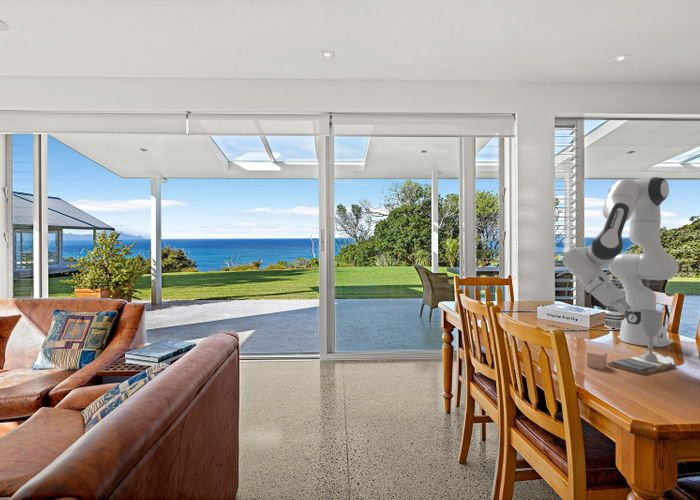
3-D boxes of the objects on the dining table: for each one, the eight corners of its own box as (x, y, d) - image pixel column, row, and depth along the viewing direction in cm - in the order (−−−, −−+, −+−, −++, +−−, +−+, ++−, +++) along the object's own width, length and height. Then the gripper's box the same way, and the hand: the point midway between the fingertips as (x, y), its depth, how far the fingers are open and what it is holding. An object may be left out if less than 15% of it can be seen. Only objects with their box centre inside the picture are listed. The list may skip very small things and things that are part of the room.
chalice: (658, 359, 155) (660, 310, 155) (665, 364, 149) (667, 313, 149) (635, 356, 158) (636, 308, 157) (641, 361, 152) (642, 311, 151)
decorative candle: (608, 329, 214) (609, 279, 213) (600, 325, 223) (601, 278, 223) (627, 330, 213) (629, 280, 212) (619, 326, 222) (620, 278, 221)
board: (639, 358, 162) (639, 354, 161) (675, 367, 151) (675, 362, 151) (607, 365, 152) (607, 360, 152) (643, 375, 142) (643, 370, 142)
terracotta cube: (590, 363, 155) (591, 350, 155) (606, 366, 151) (606, 352, 151) (586, 366, 151) (587, 352, 151) (602, 369, 148) (603, 355, 148)
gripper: (599, 286, 174) (626, 313, 167) (583, 290, 159) (612, 319, 152) (611, 276, 170) (640, 303, 164) (596, 278, 156) (627, 308, 149)
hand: (626, 311), depth 158 cm, fingers open, 8 cm apart
